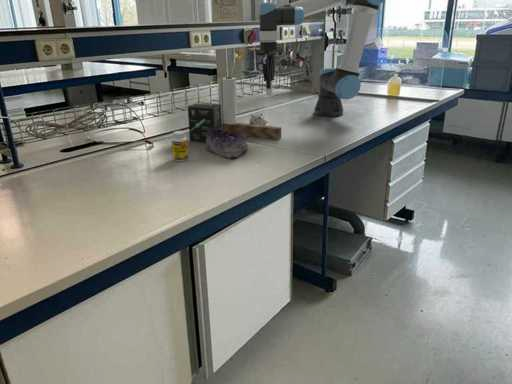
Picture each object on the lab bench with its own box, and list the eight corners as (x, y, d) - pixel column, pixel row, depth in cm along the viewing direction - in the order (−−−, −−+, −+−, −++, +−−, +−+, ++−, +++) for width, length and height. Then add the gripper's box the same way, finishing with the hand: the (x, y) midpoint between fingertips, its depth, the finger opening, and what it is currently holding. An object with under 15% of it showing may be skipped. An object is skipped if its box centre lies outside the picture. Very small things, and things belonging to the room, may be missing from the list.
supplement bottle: (173, 162, 150) (171, 134, 145) (172, 157, 155) (170, 130, 150) (189, 161, 151) (187, 133, 147) (188, 156, 156) (186, 129, 152)
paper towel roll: (239, 123, 200) (238, 77, 192) (229, 126, 196) (228, 79, 188) (228, 121, 205) (227, 76, 196) (219, 123, 201) (217, 77, 192)
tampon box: (222, 138, 178) (221, 103, 172) (213, 144, 170) (212, 108, 164) (199, 135, 182) (197, 101, 176) (189, 141, 174) (187, 106, 168)
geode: (194, 150, 163) (195, 124, 160) (216, 148, 171) (217, 123, 168) (230, 160, 150) (232, 132, 147) (252, 157, 158) (254, 130, 155)
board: (281, 138, 177) (281, 127, 175) (278, 140, 175) (279, 129, 173) (225, 132, 186) (224, 121, 184) (222, 134, 183) (221, 123, 181)
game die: (260, 140, 187) (265, 126, 179) (243, 133, 187) (247, 119, 179) (267, 127, 192) (272, 113, 184) (250, 119, 192) (254, 105, 184)
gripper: (265, 39, 190) (266, 92, 199) (255, 42, 179) (256, 97, 188) (281, 39, 187) (281, 93, 197) (271, 42, 176) (272, 98, 186)
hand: (269, 95), depth 193 cm, fingers closed
